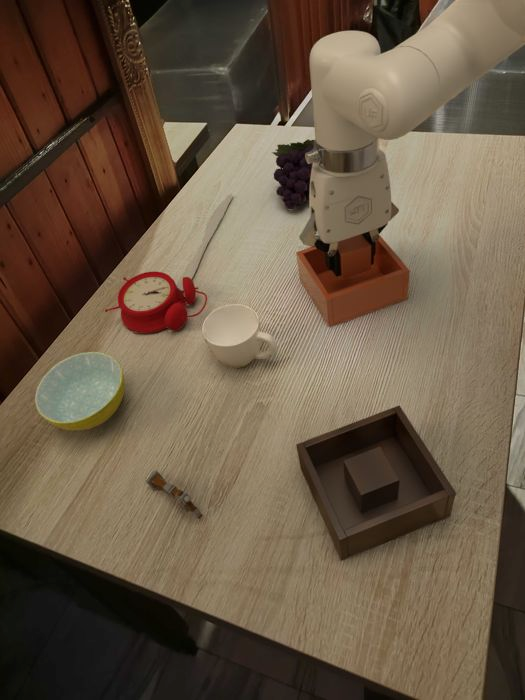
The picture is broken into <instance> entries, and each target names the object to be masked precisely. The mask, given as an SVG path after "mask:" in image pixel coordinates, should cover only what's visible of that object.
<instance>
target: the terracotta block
mask: <svg viewBox="0 0 525 700" xmlns="http://www.w3.org/2000/svg"><path fill="white" fill-rule="evenodd" d="M337 252H338V253H339V254H340V265H341V275H340V276H341V277H342V278H343V279H346V278H349V277H352V276H354V275H357V274H360V273H363V272H366V271H369V270H371V245H370V244H369V243H368V241H367V240H366V239H365V238H364V237H363V235H362V234H360V235H357V236H354V237H351V238H348V239H345V240H342V241H339V242H338V247H337Z"/></svg>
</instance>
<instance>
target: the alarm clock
mask: <svg viewBox="0 0 525 700" xmlns="http://www.w3.org/2000/svg"><path fill="white" fill-rule="evenodd" d="M122 280H123V281H126V282H124V284H123V285H122V287H120V289H119V291H118V294H117V305H118V306H114V307H112V308H108V309H107V308H105V309H104V312H105V313H108V312H109V311H113V310H117V309H118V310H119V309H120V319H121V321H122V323H123V325H124V326H125V327H126V328H127V329H128V330H130V331H132V332H134V333H138V334H151V333H158V332H160V331H163V330H165V329H168V330H170V331H174V332H175V331H178V330H180V329H182V328H183V327H184V326H185V324H186V323H187V320H188V318H193V317H197V316H198V315H200V314H201V313H202V312H203V311H204V309H205V308H206V306H207V303H208V296H207V294H206V293H205V292H203V291H199V287H198V286H195V283H194V281H193V278H192V279H191V278H189V277H183V291H181V290H180V289H179V288H177V287H176V286H177V284H176V281H175V280H174V279H173V278H172V277H171V276H170V275H169V274H167V273H165V272H163V271H146V272H142V273H139V274H137V275H135V276H133V277H131V278H130V279H127V278H126V277H125V276H124V277H123V278H122ZM197 294H201V295H203V296H204V297H205V301H204V304H203V306H202V308H200V310H199V311H198V312H196V313H195V314H191V315H188V309H187V308H186V307H187V306H188V305H192V304H194V303H195V301H196V300H197Z"/></svg>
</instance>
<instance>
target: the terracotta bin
mask: <svg viewBox="0 0 525 700" xmlns="http://www.w3.org/2000/svg"><path fill="white" fill-rule="evenodd" d="M379 236H380V237H379V239H378V240H377V241H376V253H375V255H374V264H373V265H371V270H369V271H366V272H363V273H360V274H357V275H354V276H352V277H349V278H346V279H343V278H342V277H341V276H338V277H336V276H335V274H334V273H333V271H332V270H328V268H327V266H326V262H325V252H323V251H321V250H319V249H317V248H316V247H311V246H309V247H308V248H304V249H302V250H299V251H296V253H295V254H296V262H297V269H298V275H299V276H298V277H299V278H298V279H299V281H300V283H301V284H302V286H303V287H304V289H305V291H306V292H307V294H308V296H309V297H310V299H311V301H312V303H313V304H314V306H315V307H316V309H317V310H318V312H319V314H320V315H321V317H322V319H323V320H324V322H325V323H326V325H327V327H328V328H332V327H334V326H336V325H339V324H342V323H345V322H347V321H351V320H354V319H356V318H359V317H362V316H365V315H368V314H371V313H373V312H376V311H379V310H381V309H384V308H388V307H389V306H392V305H393V306H394V305H395V304H398V303H401V302H404V301H407V300H409V287H410V286H409V285H410V275H411V270H410V269H409V268H408V266H407V265H406V264H405V263H404V262H403V260H402V259H401V257H399V256H398V254H397V253H396V252H395V251H394V250H393V249H392V248H391V246H390V245H389V244H388V243H387V241H386V240H385V239H384V238H383V237H382V236H381V235H380V234H379Z"/></svg>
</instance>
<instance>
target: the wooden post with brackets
mask: <svg viewBox="0 0 525 700" xmlns="http://www.w3.org/2000/svg"><path fill="white" fill-rule="evenodd" d="M145 482H146V483H147V485H148V486H149V487H150V489H152V491H156V490H157V489H160V490H163V491H164V492H165V493H166V494H169V496H171V497H172V498H176V499H177V500H178V501H179V503H178V506H179V507H180V508H181V509H182V510H184V511H185V512H186V513H189V512H190V513H191V514H192V515H194V516H195V518H196V519H198V520H201V519H202V517H203V516H204V514H203V513H202V512H201V509H199V508H198V506H196V505H195V504H194V502H193V501H192V500H191V499H192V497H191V495H190V494H188V492H186V491H184V490H182V488H181V489H179V487H177V486H176V485H175V484H172V483H171V482H169V481H168V482H167V481H166V480H165V478H164V477H163V476H162V475H161V474H160V472H159V470H157V469H155V470H154V471H153V472H152V473H151V474H150V475H149V476H148V477H147V478H146V479H145Z"/></svg>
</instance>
